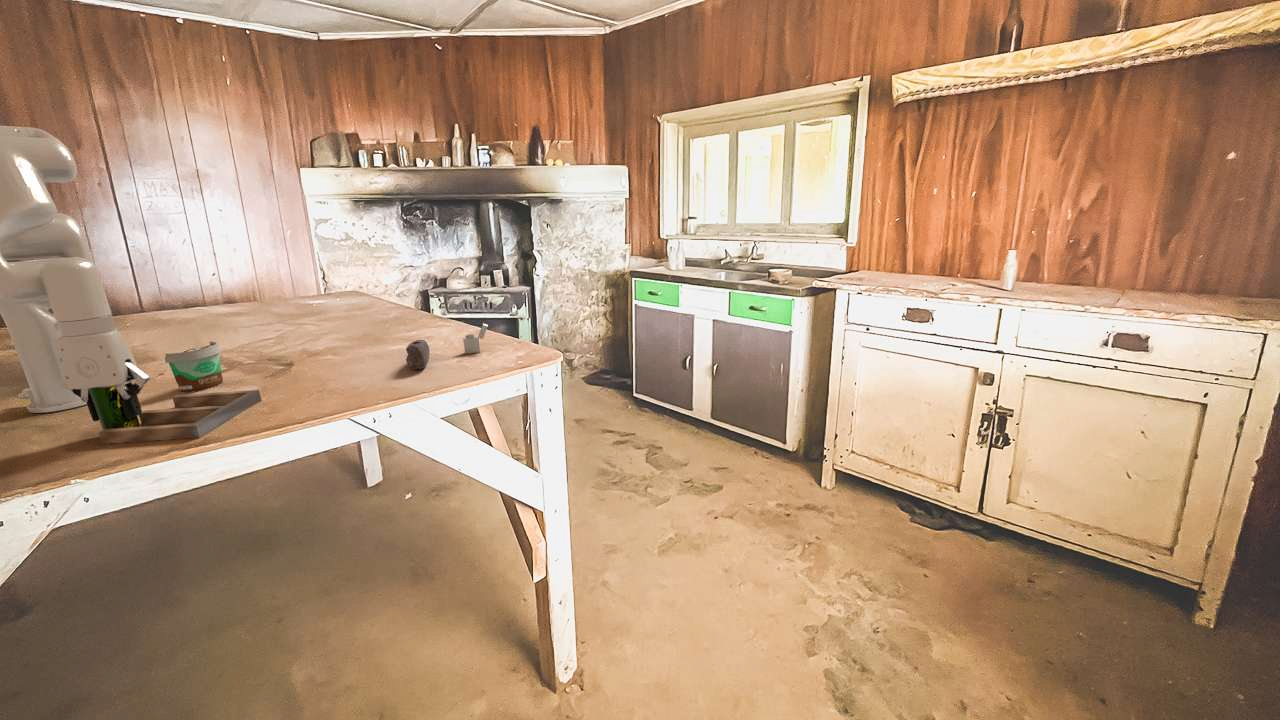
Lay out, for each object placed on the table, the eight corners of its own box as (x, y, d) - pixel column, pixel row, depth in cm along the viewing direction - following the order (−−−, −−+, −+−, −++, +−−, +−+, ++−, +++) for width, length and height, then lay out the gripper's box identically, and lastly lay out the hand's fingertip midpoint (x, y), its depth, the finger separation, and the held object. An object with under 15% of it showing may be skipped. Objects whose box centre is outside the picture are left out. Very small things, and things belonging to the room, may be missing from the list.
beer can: (98, 440, 106) (77, 381, 103) (116, 429, 111) (97, 372, 108) (130, 436, 107) (111, 377, 104) (147, 426, 112) (129, 369, 109)
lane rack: (102, 444, 104) (98, 432, 103) (180, 405, 124) (177, 395, 123) (199, 437, 105) (196, 425, 105) (261, 400, 125) (258, 389, 124)
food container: (195, 395, 130) (184, 354, 127) (174, 394, 132) (162, 354, 129) (241, 378, 142) (231, 341, 139) (221, 378, 143) (211, 340, 140)
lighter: (465, 353, 156) (461, 326, 154) (465, 352, 158) (461, 325, 156) (490, 351, 158) (487, 323, 156) (490, 349, 160) (487, 322, 157)
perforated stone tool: (416, 358, 154) (412, 334, 152) (435, 356, 155) (432, 332, 153) (405, 374, 140) (400, 348, 138) (426, 372, 141) (422, 346, 139)
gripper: (18, 334, 99) (53, 428, 104) (120, 328, 100) (149, 421, 105) (57, 325, 106) (88, 413, 111) (151, 320, 107) (177, 407, 113)
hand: (117, 416), depth 108 cm, fingers closed on beer can, 5 cm apart
